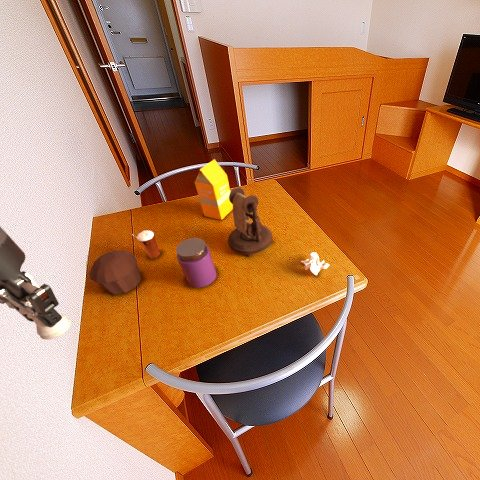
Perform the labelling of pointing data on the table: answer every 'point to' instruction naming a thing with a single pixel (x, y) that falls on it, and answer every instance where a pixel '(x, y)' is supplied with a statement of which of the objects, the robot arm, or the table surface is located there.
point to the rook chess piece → (49, 331)
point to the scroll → (247, 225)
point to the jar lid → (191, 249)
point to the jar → (199, 270)
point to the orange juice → (213, 191)
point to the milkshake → (148, 243)
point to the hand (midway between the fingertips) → (46, 319)
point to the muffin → (116, 272)
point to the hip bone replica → (314, 264)
